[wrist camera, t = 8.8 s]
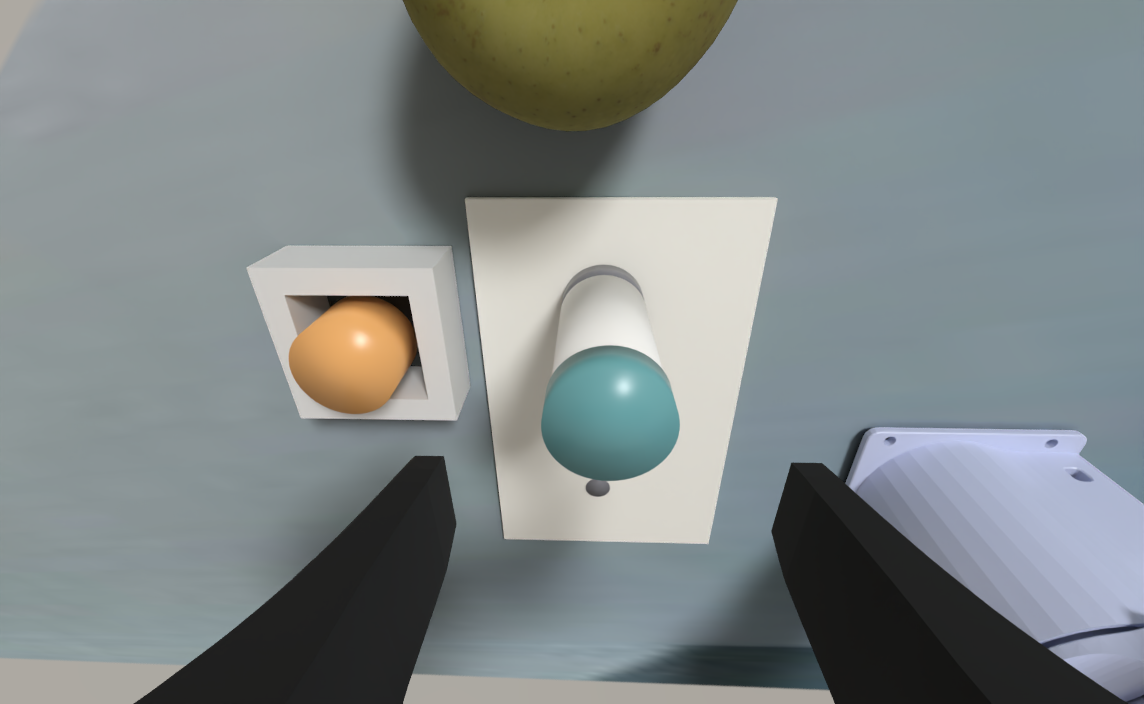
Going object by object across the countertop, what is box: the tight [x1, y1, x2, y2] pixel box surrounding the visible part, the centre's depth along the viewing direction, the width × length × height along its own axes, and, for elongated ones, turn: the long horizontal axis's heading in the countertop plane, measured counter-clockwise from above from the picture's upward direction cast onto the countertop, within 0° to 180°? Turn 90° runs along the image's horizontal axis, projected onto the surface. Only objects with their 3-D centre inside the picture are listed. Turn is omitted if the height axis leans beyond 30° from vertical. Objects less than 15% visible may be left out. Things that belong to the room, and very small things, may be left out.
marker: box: [541, 265, 680, 481], centre depth 15 cm, size 3×3×8 cm
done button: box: [289, 296, 418, 414], centre depth 17 cm, size 4×4×2 cm
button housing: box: [247, 246, 471, 420], centre depth 19 cm, size 6×6×2 cm
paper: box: [465, 197, 778, 544], centre depth 21 cm, size 11×18×1 cm, turn 0°
